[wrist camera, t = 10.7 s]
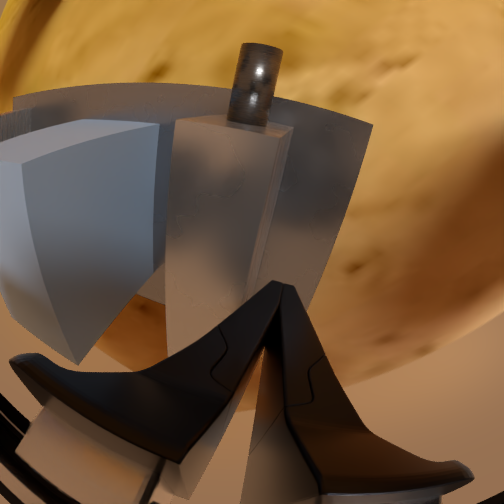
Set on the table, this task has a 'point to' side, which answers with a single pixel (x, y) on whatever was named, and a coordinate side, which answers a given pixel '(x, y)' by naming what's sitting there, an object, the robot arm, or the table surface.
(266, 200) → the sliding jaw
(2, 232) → the block
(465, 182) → the table surface
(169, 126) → the vise
